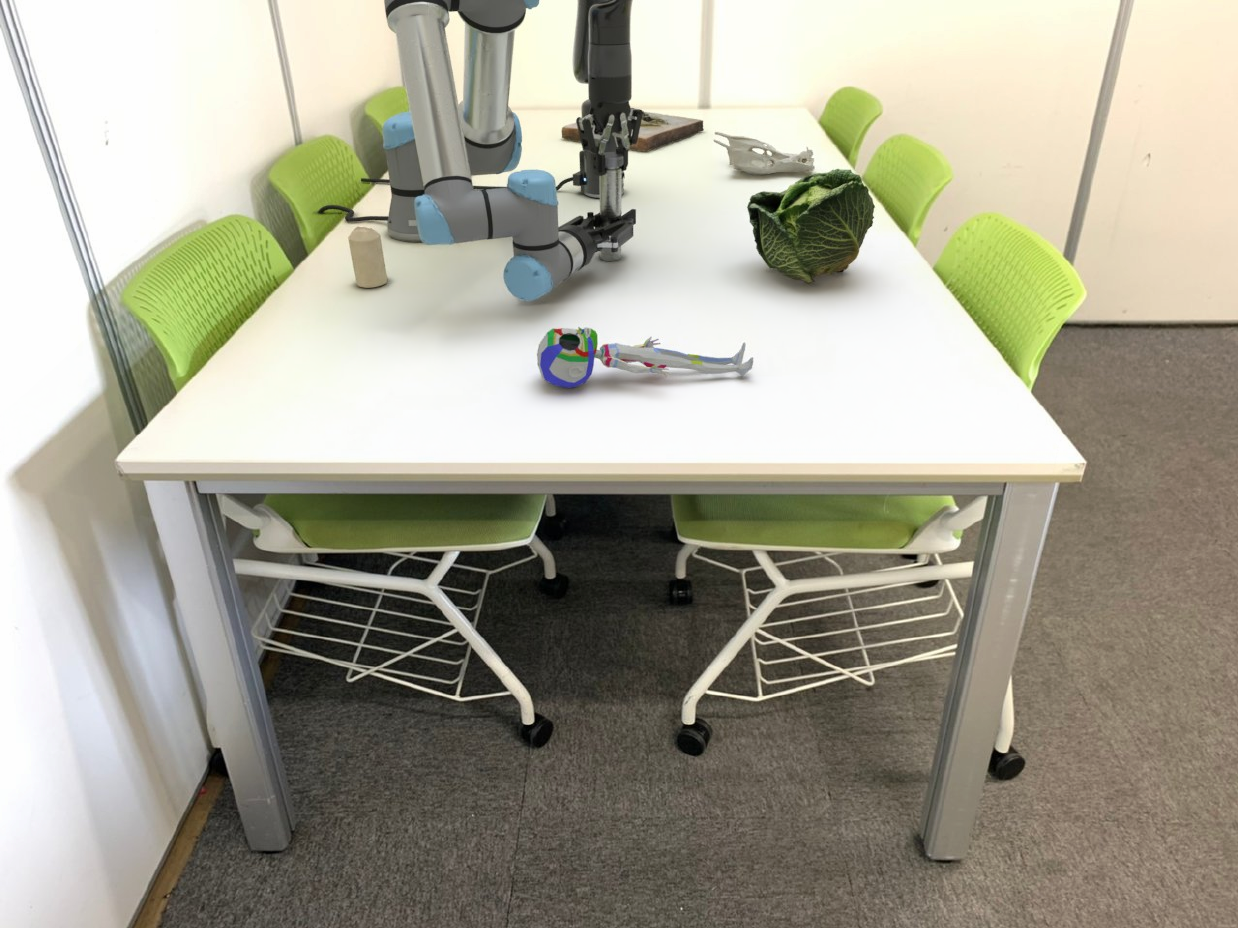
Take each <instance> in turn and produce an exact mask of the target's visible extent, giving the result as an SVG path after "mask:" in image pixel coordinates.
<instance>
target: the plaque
mask: <svg viewBox="0 0 1238 928" xmlns="http://www.w3.org/2000/svg"><path fill="white" fill-rule="evenodd" d="M642 111H643V116H642V121H641V125H640V130H639V135H638V140H637V143H636V144H632V145H631V146H630V148H629V149H628V150H632V151H640V152H648V151H654V150H656V149H659V148H662V147H663V146H664V147H665V146H667V145H670V144H672V143H676V142H680V141H682V140H684V139H687V138H691V137H692V136H694V135H696V134H698V133H700V132H704V130H705V129H704V120H702V119H698V118H693V117H685V116H679V115H669V114H663V113H659V112H650V111H644V110H642ZM626 123H627V121H626ZM632 132H633V129H632ZM631 136H632V133H631ZM561 138H562V139H563V140H568V141H573V142H580V143H581V140H580V135H579V131H578V127H577V123H576V122H573V123H569V124H567V125H564V126H562V127H561Z"/></svg>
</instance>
